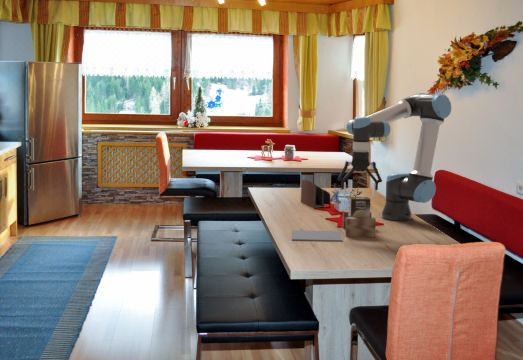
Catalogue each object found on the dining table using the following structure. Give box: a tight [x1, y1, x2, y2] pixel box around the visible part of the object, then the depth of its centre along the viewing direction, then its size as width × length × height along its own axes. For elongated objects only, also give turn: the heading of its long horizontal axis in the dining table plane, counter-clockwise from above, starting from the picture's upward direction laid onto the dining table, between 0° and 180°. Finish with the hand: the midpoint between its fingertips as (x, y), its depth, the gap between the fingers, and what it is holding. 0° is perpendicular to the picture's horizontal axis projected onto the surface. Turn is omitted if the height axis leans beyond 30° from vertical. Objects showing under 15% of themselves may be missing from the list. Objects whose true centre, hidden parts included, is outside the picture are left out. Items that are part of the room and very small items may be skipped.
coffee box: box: [348, 196, 371, 218], centre depth 310 cm, size 9×6×16 cm
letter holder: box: [300, 179, 332, 209], centre depth 378 cm, size 10×20×14 cm, turn 19°
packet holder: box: [342, 210, 377, 238], centre depth 311 cm, size 13×20×8 cm, turn 178°
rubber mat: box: [291, 229, 343, 242], centre depth 301 cm, size 22×18×1 cm
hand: (358, 196), depth 309 cm, fingers open, 13 cm apart
